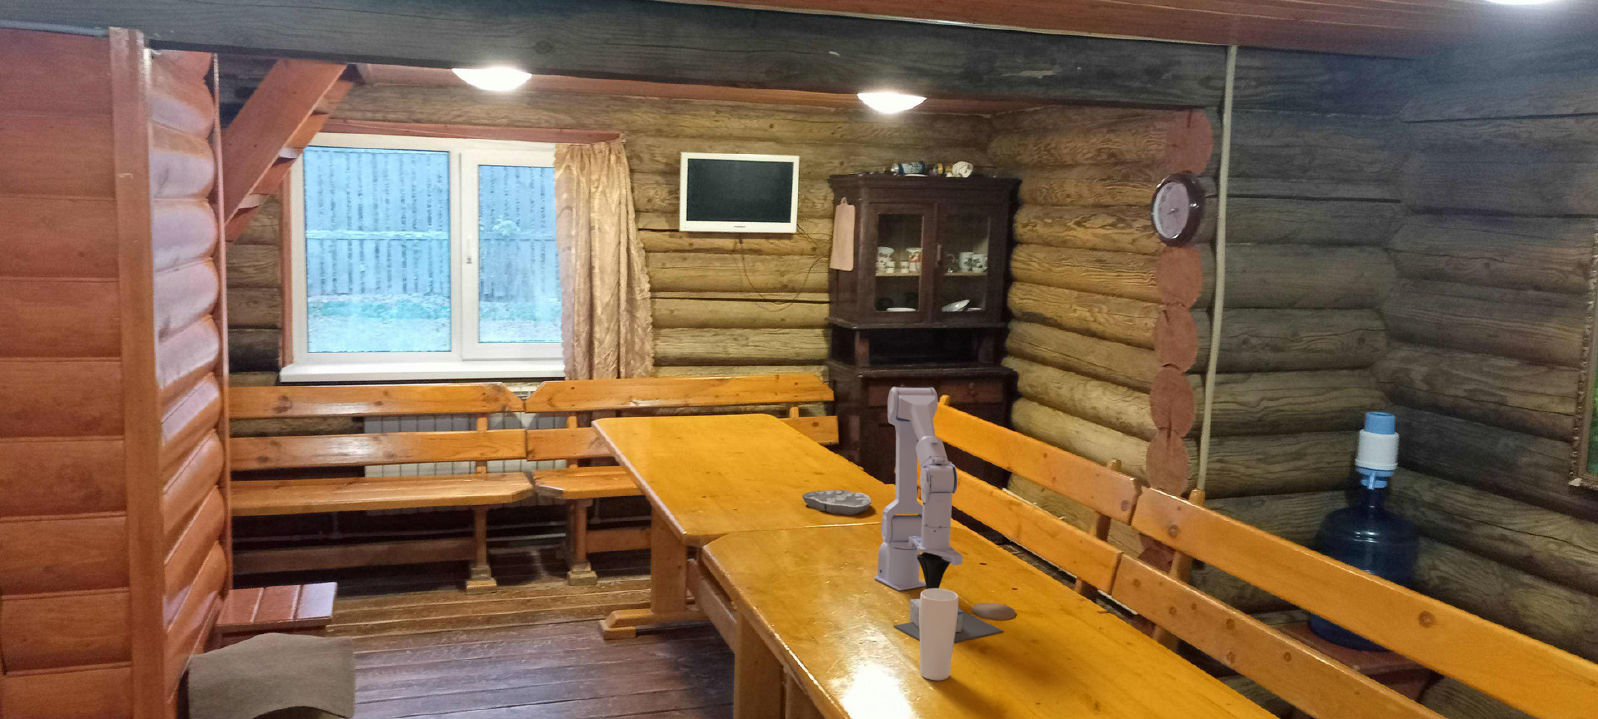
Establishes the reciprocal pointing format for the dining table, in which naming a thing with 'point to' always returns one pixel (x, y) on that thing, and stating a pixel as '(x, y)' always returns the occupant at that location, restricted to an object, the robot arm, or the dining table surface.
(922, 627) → the drinking glass
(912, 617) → the medicine box
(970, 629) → the mat
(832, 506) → the brain slice
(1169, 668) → the dining table surface
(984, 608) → the walnut coaster
